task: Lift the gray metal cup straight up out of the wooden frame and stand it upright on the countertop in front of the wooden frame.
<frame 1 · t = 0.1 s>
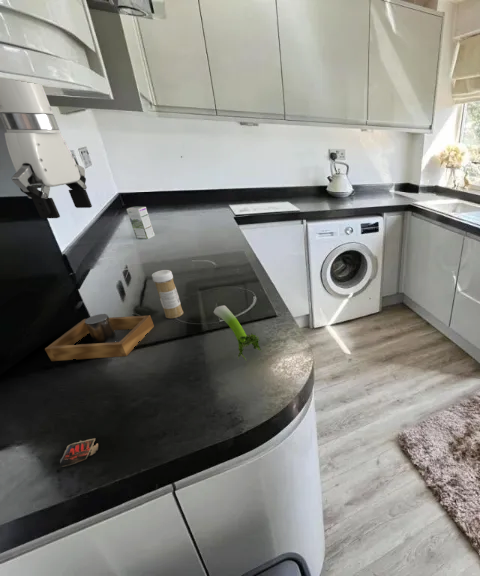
hand: (68, 212, 70), 32 cm above the table, tool pointing down, fingers open, 9 cm apart
sprinkles bottle: (175, 315, 93), on the table
gray metal cup: (101, 330, 80), in the wooden frame
wooden frame: (107, 342, 81), on the table
celery stalk: (235, 337, 84), on the table
syrup box: (145, 237, 158), on the table
matchbox: (81, 453, 54), on the table
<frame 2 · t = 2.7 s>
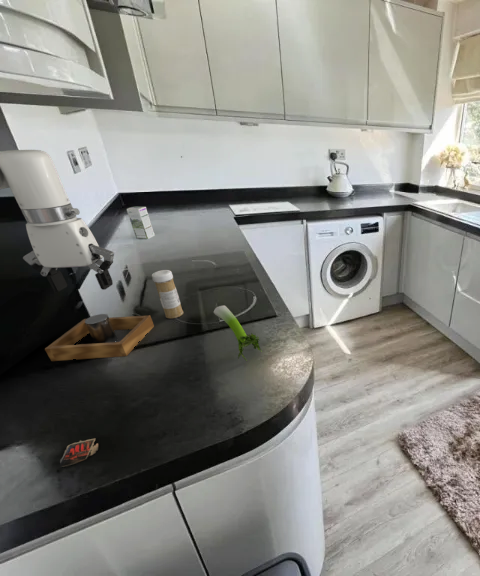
hand: (84, 288, 74), 15 cm above the table, tool pointing down, fingers open, 9 cm apart
nothing on the table moved.
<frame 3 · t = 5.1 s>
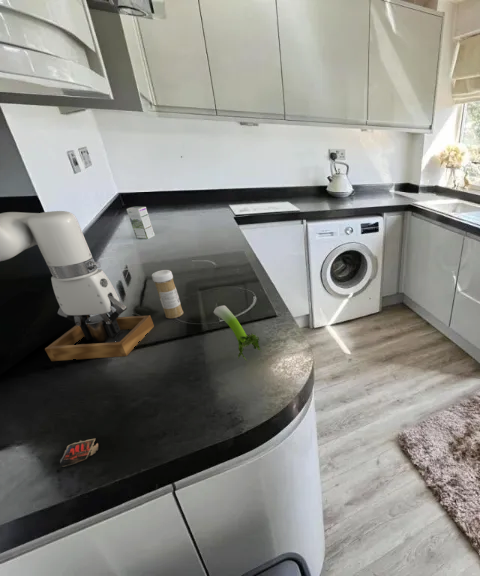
hand: (103, 335, 80), 2 cm above the table, tool pointing down, fingers closed on gray metal cup, 4 cm apart
gray metal cup: (101, 330, 80), in the wooden frame, touching gripper
everything else where it was.
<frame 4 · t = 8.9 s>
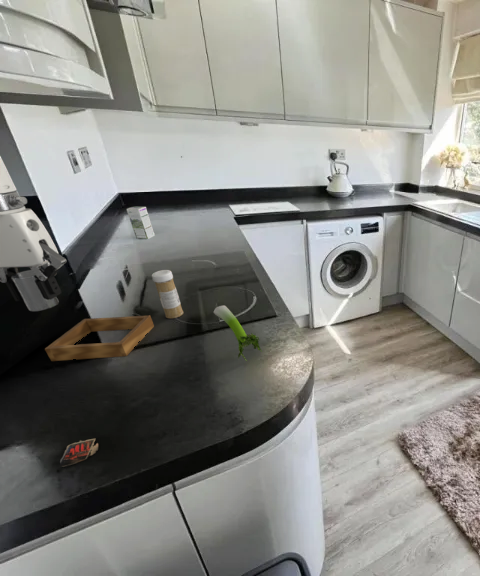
hand: (39, 296, 64), 19 cm above the table, tool pointing down, fingers closed on gray metal cup, 4 cm apart
gray metal cup: (36, 290, 63), point 20 cm above the table, touching gripper
everything else where it was.
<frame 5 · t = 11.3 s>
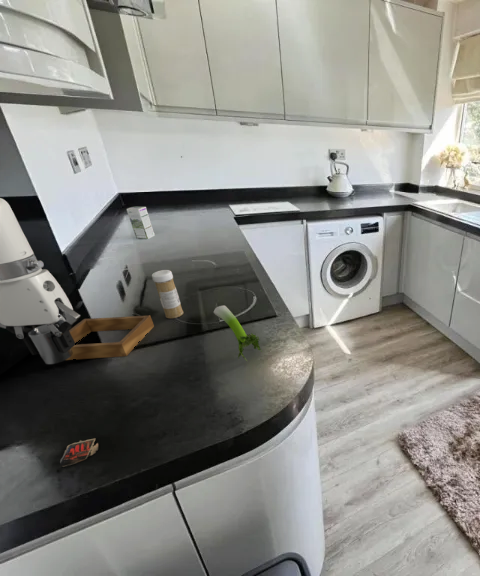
hand: (54, 349, 66), 8 cm above the table, tool pointing down, fingers closed on gray metal cup, 4 cm apart
gray metal cup: (51, 343, 66), point 9 cm above the table, touching gripper
everything else where it was.
when the fingers open (2 cm above the table, at t = 13.0 s): gray metal cup stays where it is, on the table.
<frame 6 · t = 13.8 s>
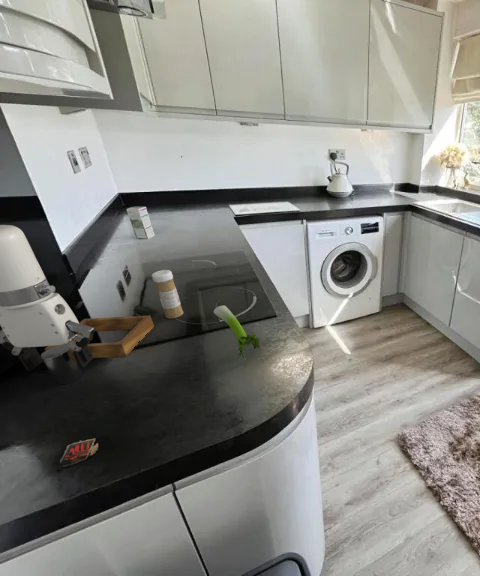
hand: (61, 364, 68), 4 cm above the table, tool pointing down, fingers open, 9 cm apart
gray metal cup: (62, 365, 68), on the table
everything else where it was.
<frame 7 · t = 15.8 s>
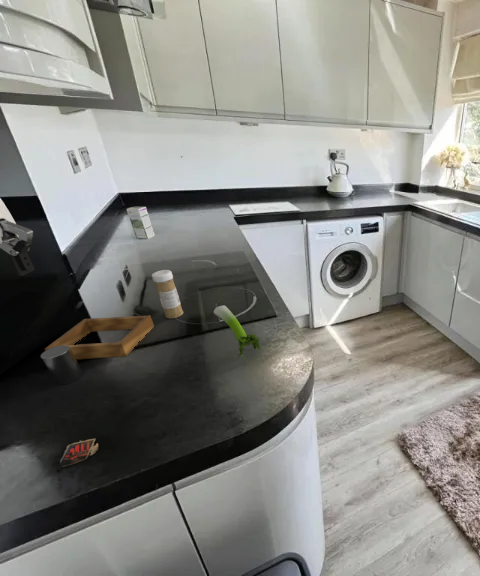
nothing on the table moved.
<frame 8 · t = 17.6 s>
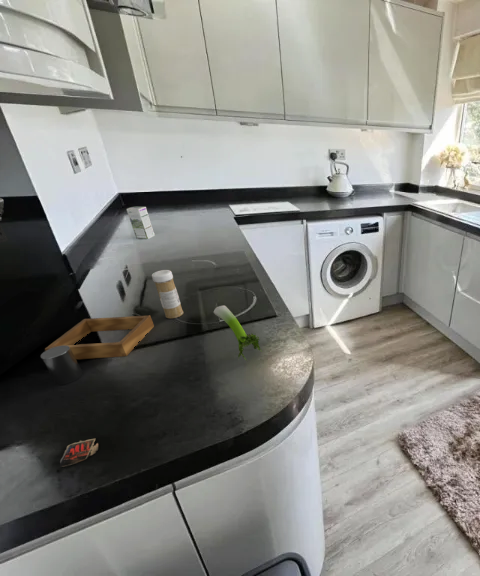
nothing on the table moved.
at the end: gray metal cup inside the target area (0.5 cm from its centre), on the table; gray metal cup tilted 0°; the gripper is holding nothing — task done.
